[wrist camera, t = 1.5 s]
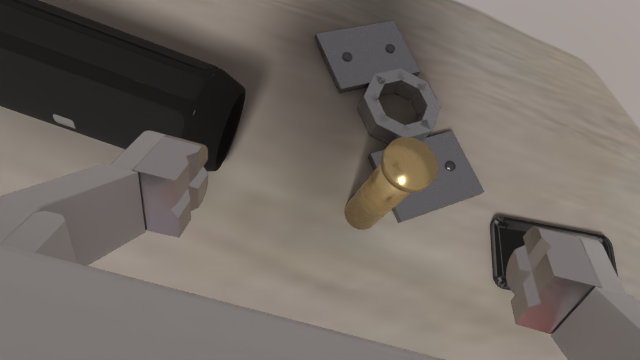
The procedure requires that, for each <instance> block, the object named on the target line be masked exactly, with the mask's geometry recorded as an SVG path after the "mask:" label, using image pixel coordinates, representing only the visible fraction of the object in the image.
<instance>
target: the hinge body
mask: <svg viewBox="0 0 640 360" xmlns="http://www.w3.org/2000/svg"><path fill="white" fill-rule="evenodd" d="M315 40H316V42H317V44H318V47H319V49H320V51H321V53H322V55H323V58H324V60H325V62H326V64H327V66H328V69H329V71H330V73H331V75H332V78H333V80H334V82H335V84H336V86H337V89H338V91H339V93H341V92H345V91H350V90H354V89H359V88H363V87H367V89H366V91H365V93H364V95H363V97H362V99H361V101H360V104H359V106H358V108H357V109H358V111H359V114H360V116H361V118H362V120H363V122H364V125H365V127H366V129H367V131H368V133H369V135H371V136H373V137H375V138H377V139H379V140H381V141H383V142H385V143H387V144H390V143H391V142H392V141H393V140H395V139H398V138H401V137H411V138H415V139H417V140H420V141H421V142H423V143H424V144H426V145H427V146H428V147H429V148H430V149H431V151H432V152H433V154H434V155H435V158H436V161H437V166H438V169H437V175H436V177H435V179H434V181H433V182H432V183H431V184H430V185H429V186H427V187H426V188H425V189H423V190H422V191H419V192H415V193H410V194H409V195H408V196H407V197H405V198H404V199H403V200H402V201H401V202H400V203H398V204H397V205H396V206H395V207H394V208H393V209H392V210H393V212H394V215H395V217H396V219H397V221H398V223H400V222H403V221H405V220H408V219H411V218H414V217H417V216H420V215H422V214H425V213H428V212H431V211H434V210H437V209H440V208H442V207H445V206H448V205H451V204H454V203H457V202H459V201H462V200H465V199H468V198H471V197H474V196H476V195H479V194H481V193H483V192H484V191H483V189H482V187H481V185H480V183H479V181H478V179H477V177H476V175H475V173H474V172H473V170H472V168H471V166H470V164H469V162H468V160H467V158H466V156H465V154H464V153H463V151H462V149H461V147H460V145H459V143H458V141H457V139H456V137H455V135H454V133H453V132H452V131H449V132H445V133H442V134H438V135H435V136H431V137H428V138H426V137H427V136H428V135H429V134H430V133H431V132H432V131H433V128H434V125H435V122H436V119H437V117H438V114H439V111H440V108H441V107H440V105H439V103H438V101H437V99H436V97H435V95H434V94H433V92H432V90H431V88H430V86H429V84H428V82H426V81H424V80H422V79H420V78H418V77H417V75H419V73H420V72H421V71H420V69H419V67H418V65H417V63H416V61H415V59H414V57H413V56H412V54H411V52H410V50H409V48H408V46H407V44H406V42H405V40H404V38H403V37H402V35H401V33H400V31H399V29H398V27H397V25H396V23H395V21H388V22H382V23H376V24H370V25H364V26H358V27H352V28H346V29H340V30H334V31H328V32H322V33H316V35H315ZM392 92H394V93H396V94H398V95H400V96H402V97H404V98H406V99H408V100H410V101H411V103H412V105H413V107H414V109H415V111H416V113H417V115H418V119H417V121H416V122H415V123H411V124H407V125H403V124H401V123H399V122H397V121H395V120H393V119H391V118H389V117H387V116H386V114H385V112H384V110H383V108H382V106H381V104H380V102H379V100H378V97H379V95H383V94H388V93H392ZM383 151H384V150H381V151H378V152H374V153H371V154H370V155H369V156H368V157H369V159H370V162H371V164H372V166H373V168H374V170H375V169H376V168H377V167H378V166H379V165H380V164H381V156H382V153H383Z"/></svg>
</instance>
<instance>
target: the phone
mask: <svg viewBox="0 0 640 360" xmlns="http://www.w3.org/2000/svg"><path fill="white" fill-rule="evenodd" d="M533 226H535V227H539V228H544V229H548V230H552V231H556V232H560V233H564V234H568V235H572V236H580V237H585V238H589V239H594V240H598V241H599V242H600V243H601V244H602V245H603V247H604V249H605V251H606V253H607V255H608V258H609V260H610V262H611V264H612V266H613V268H614V270H615V272H616V274H617V269H616V263H615V258H614V252H613V246H612V243H611V242H610V240H609V239H608V238H607V237H605V236H602V235H597V234H592V233H586V232H581V231H576V230H570V229H565V228H560V227H554V226H549V225H544V224H538V223H533V222H527V221H522V220H517V219H511V218H506V217H498V218H496V219H494V220H493V221H492V222H491V224H490V234H491V251H492V268H493V279H494V281H495V283H496V284H497V286H499V287H500V288H502V289H507V290H511V289H510V288H509V287H508V285H507V279H506V269H507V265H508V261H509V258H510V257H511V255H512V253H513V252H514V250H515V249H517V248H519V247H522V246H524V245H525V243H524V239H523V236H524V235H525V234H526V232H527V231H528V229H530V228H531V227H533ZM617 277H618V274H617Z"/></svg>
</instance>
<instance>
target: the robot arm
mask: <svg viewBox="0 0 640 360" xmlns="http://www.w3.org/2000/svg"><path fill="white" fill-rule="evenodd" d="M207 160H208V148H207V147H206V146H205V145H203V144H199V143H196V142H192V141H188V140H185V139H181V138H177V137H173V136H170V135H165V134H162V133H158V132H154V131H150V130H149V131H144V132H143V133H142V134H141V135H140V136H139V137H138V138H137V139H136V140H135V141H134V142H133V143H132V144H131V145H130V146H129V147H128V148H127V149H126V150H125V151H124V152H123V153H122V154H121V155H120V156H119V157H118V158H117V159H116V160H115V161H114V162H113V163H112V164H111V165H108V164H102V165H98V166H95V167H92V168H89V169H86V170H82V171H79V172H76V173H73V174H70V175H66V176H63V177H60V178H57V179H54V180H51V181H47V182H44V183H41V184H38V185H35V186H31V187H28V188H25V189H22V190H19V191H16V192H12V193H9V194H6V195H3V196H0V360H444V359H440V358H437V357H433V356H429V355H425V354H421V353H418V352H414V351H410V350H406V349H402V348H399V347H395V346H391V345H387V344H383V343H380V342H376V341H372V340H368V339H364V338H360V337H357V336H353V335H349V334H345V333H341V332H338V331H334V330H330V329H326V328H322V327H318V326H315V325H311V324H307V323H303V322H299V321H296V320H292V319H288V318H284V317H280V316H276V315H273V314H269V313H265V312H261V311H257V310H254V309H250V308H246V307H242V306H238V305H235V304H231V303H227V302H223V301H219V300H215V299H212V298H208V297H204V296H200V295H196V294H193V293H189V292H185V291H181V290H177V289H173V288H170V287H166V286H162V285H158V284H154V283H151V282H147V281H143V280H139V279H135V278H132V277H128V276H124V275H120V274H116V273H112V272H109V271H105V270H101V269H97V268H93V267H90V266H88V265H89V264H91V263H93V262H94V261H96V260H98V259H100V258H101V257H103V256H105V255H107V254H108V253H110V252H112V251H114V250H115V249H117V248H119V247H120V246H122V245H124V244H126V243H127V242H129V241H131V240H133V239H134V238H136V237H138V236H140V235H141V234H143V233H145V232H146V231H145V230H147V231H151V232H156V233H160V234H165V235H169V236H173V237H178V238H179V237H180V236H181V234H182V233H183V231H184V229H185V228H186V226H187V225H188V223H189V222H190V220H191V211H192V210H194V209H197V208H198V207H199V206H200V204H201V202H202V201H203V198H204V195H205V193H206V190H207V184H208V172H207V171H206V170H205V168H204V167H203V166H204V164H205V163H206V161H207ZM523 239H524V243H525V245H524V246H522V247H519V248H517V249H515V250H514V252H513V253H512V255H511V257H510V258H509V261H508V265H507V269H506V279H507V285H508V287H509V288H510V289H511V290H512V292H513V293H514V294H515V296H514V297H513V299H512V300H511V304H512V309H513V314H514V319H515V323H516V324H517V325H520V326H524V327H527V328H531V329H534V330H538V331H541V332H545V333H548V334H552V335H551V337H552V338H553V340H554V341H555V342H556V344H557V345H558V347H559V348H560V349H561V351H562V352H563V353H564V355H565V356H566V358H567V359H568V360H640V302H639V301H638V300H637V299H635V298H634V297H633V296H630V295H626V293H625V291H624V289H623V287H622V285H621V283H620V281H619V279H618V277H617V274H616V272H615V270H614V268H613V266H612V264H611V262H610V260H609V258H608V255H607V253H606V251H605V249H604V247H603V245H602V244H601V243H600V242H599V241H598V240H594V239H589V238H585V237H580V236H572V235H568V234H564V233H560V232H556V231H552V230H548V229H544V228H539V227H535V226H533V227H531V228H530V229H528V231H527V232H526V234H525V235H524V236H523Z"/></svg>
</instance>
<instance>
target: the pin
mask: <svg viewBox="0 0 640 360" xmlns="http://www.w3.org/2000/svg"><path fill="white" fill-rule="evenodd" d="M437 169H438V166H437V161H436V158H435V155H434V154H433V152H432V151H431V149H430V148H429V147H428V146H427V145H426V144H424V143H423V142H421V141H420V140H417V139H415V138H411V137H401V138H398V139H395V140H393V141H392V142H391V143H390V144H389V145H388V146H387V147H386V149H385V150H384V151H383V153H382V156H381V164H380V165H379V166H378V167H377V168H376V169H375V171H374V172H373V173H372V174H371V175H370V177H369V178H368V179H367V180H366V181H365V183H364V184H363V185H362V186H361V187H360V189H359V190H358V191H357V192H356V193H355V194H354V196H353V197H352V198H351V199H350V200H349V202H348V203H347V204H346V207H345V217H346V219H347V221H348V223H349V224H350V225H351V226H353V227H354V228H357V229H361V230H364V229H368V228H370V227H371V226H373V225H374V224H375V223H376V222H377V221H378V220H380V219H381V218H382V217H383V216H384V215H386V214H387V213H388V212H389V211H390V210H391V209H393V208H394V207H395V206H396V205H397V204H398V203H400V202H401V201H402V200H403V199H404V198H405V197H407V196H408V195H409V194H410V193H415V192H419V191H422V190H423V189H425V188H426V187H427V186H429V185H430V184H431V183H432V182H433V181H434V179H435V177H436V175H437Z"/></svg>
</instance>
